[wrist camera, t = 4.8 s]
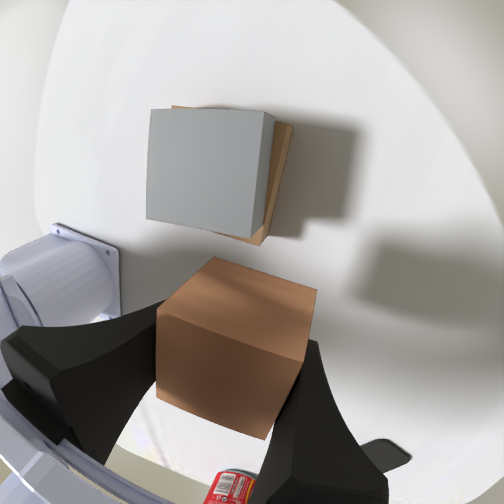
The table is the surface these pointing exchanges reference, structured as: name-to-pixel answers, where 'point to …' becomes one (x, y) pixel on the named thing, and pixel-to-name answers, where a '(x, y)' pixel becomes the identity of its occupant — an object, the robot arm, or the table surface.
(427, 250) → the table surface
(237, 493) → the soda can
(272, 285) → the terracotta block
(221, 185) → the tower top
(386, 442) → the phone
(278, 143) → the tower base
